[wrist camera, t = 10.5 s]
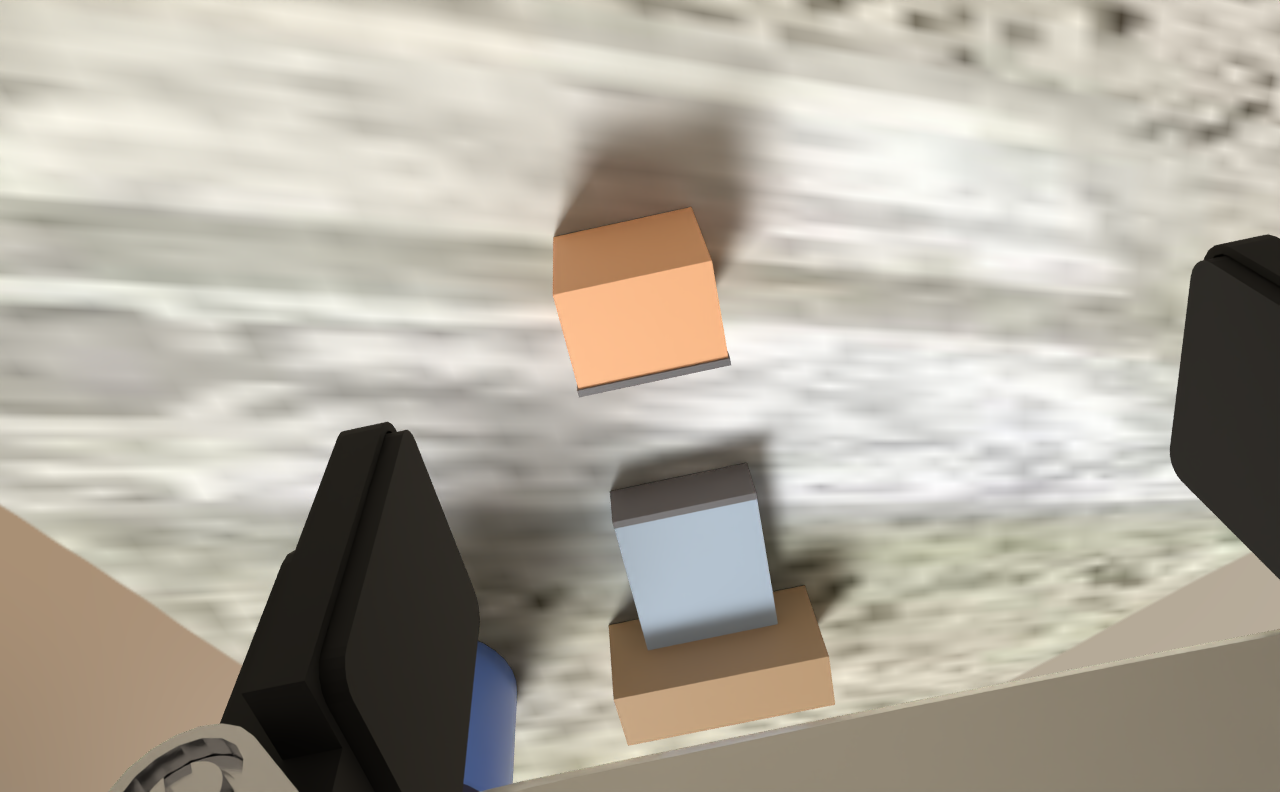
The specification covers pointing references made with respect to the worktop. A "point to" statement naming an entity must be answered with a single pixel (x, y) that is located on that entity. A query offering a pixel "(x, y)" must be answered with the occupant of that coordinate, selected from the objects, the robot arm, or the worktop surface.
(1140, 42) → the worktop surface
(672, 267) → the stub
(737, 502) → the tan blue stepped block
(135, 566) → the worktop surface
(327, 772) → the robot arm
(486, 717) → the water bottle
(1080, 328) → the worktop surface
